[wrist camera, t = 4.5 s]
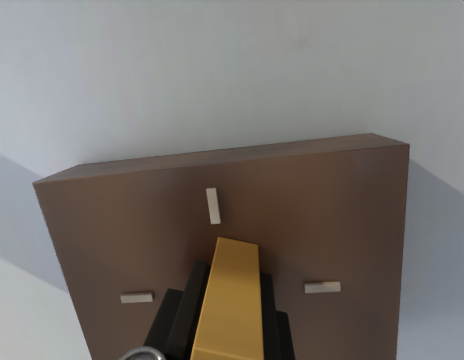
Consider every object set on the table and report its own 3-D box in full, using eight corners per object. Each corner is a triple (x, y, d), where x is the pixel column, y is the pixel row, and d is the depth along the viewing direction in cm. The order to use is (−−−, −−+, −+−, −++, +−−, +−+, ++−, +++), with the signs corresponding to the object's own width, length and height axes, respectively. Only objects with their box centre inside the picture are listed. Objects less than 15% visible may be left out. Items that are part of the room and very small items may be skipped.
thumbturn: (218, 235, 11) (190, 357, 6) (258, 244, 11) (265, 373, 6) (198, 334, 12) (162, 499, 7) (233, 341, 12) (221, 512, 7)
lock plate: (372, 132, 12) (413, 144, 9) (368, 330, 15) (397, 388, 12) (77, 164, 13) (27, 184, 10) (127, 340, 17) (100, 394, 14)
